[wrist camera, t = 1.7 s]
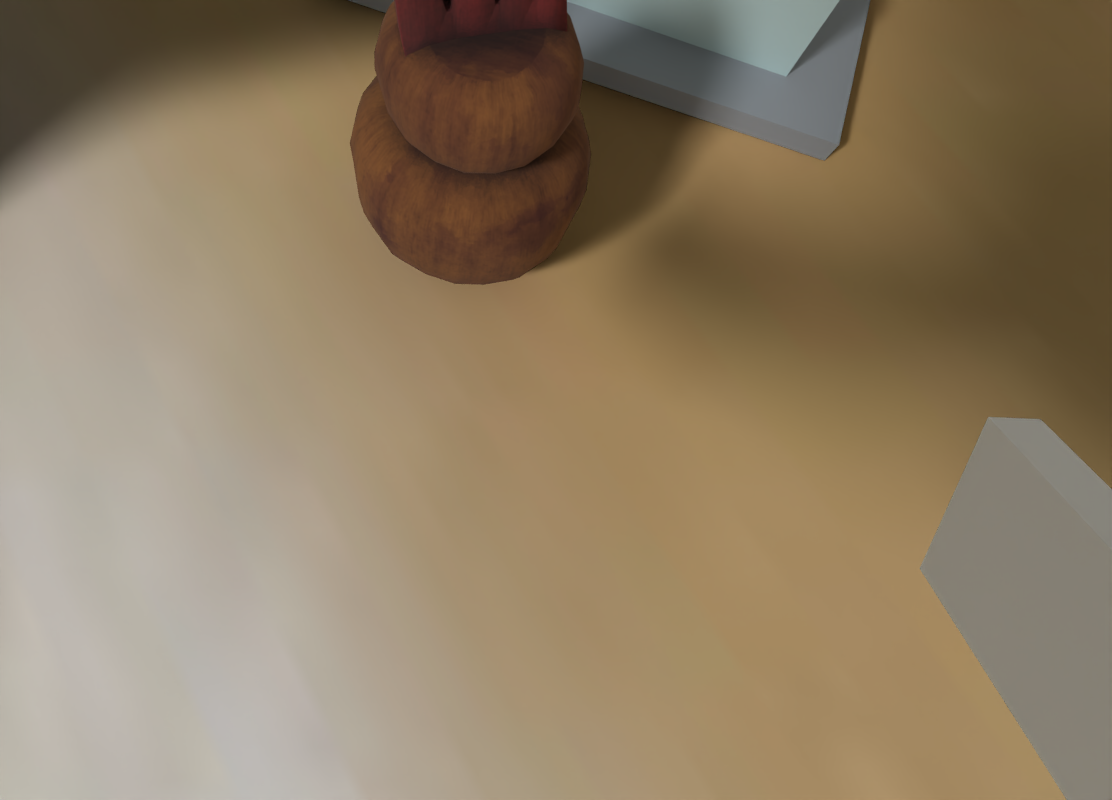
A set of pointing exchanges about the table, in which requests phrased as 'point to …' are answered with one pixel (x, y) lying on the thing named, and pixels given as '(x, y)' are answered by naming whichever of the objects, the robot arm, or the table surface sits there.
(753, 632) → the table surface
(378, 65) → the wooden figurine
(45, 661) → the table surface
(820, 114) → the collar stand
